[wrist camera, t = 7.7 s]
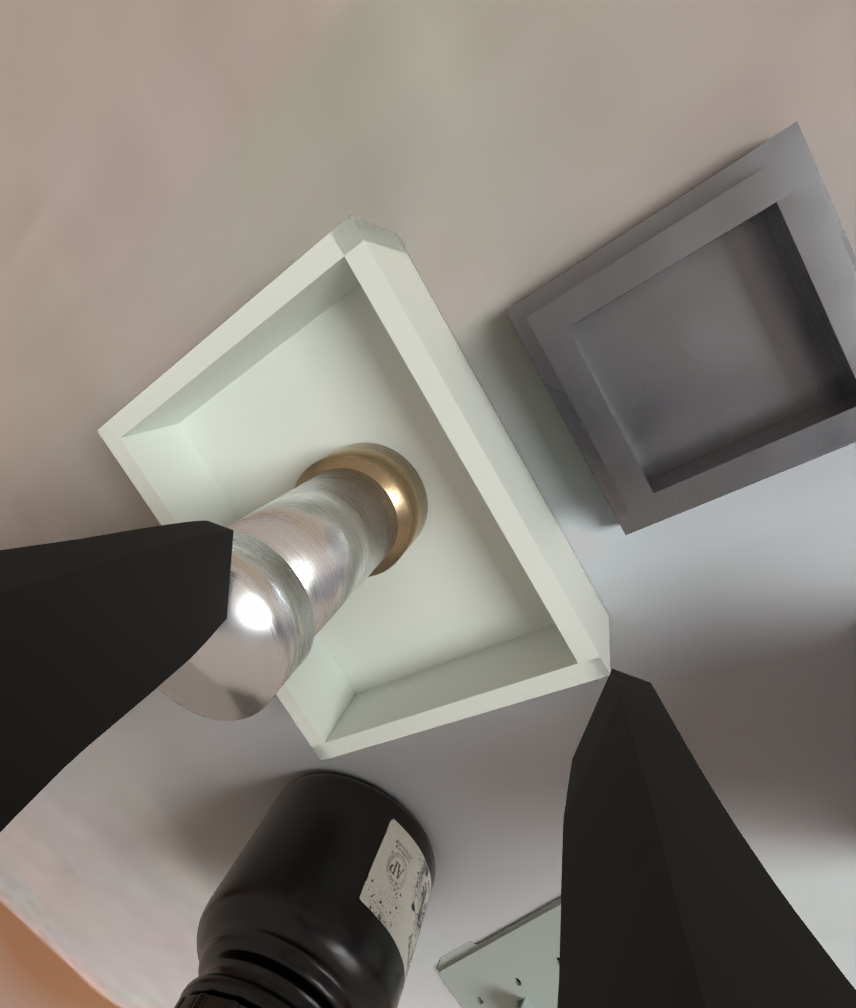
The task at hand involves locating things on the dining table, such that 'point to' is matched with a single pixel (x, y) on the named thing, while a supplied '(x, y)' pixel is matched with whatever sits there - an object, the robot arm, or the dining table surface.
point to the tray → (430, 450)
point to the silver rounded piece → (300, 574)
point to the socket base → (706, 338)
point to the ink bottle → (317, 904)
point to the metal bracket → (509, 965)
